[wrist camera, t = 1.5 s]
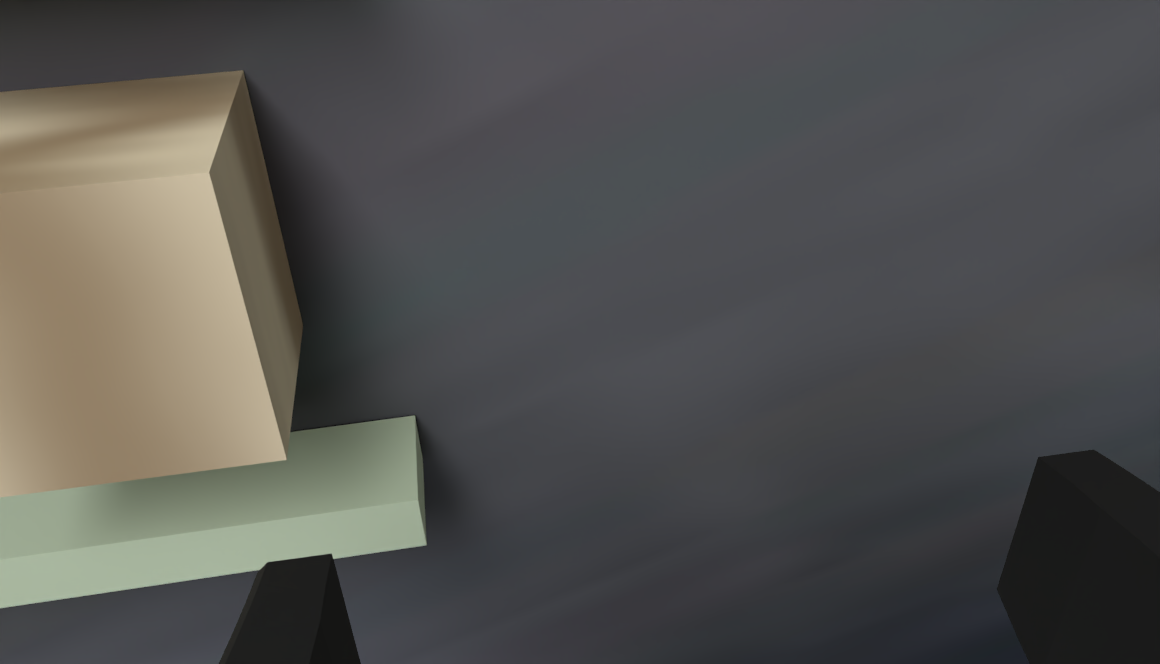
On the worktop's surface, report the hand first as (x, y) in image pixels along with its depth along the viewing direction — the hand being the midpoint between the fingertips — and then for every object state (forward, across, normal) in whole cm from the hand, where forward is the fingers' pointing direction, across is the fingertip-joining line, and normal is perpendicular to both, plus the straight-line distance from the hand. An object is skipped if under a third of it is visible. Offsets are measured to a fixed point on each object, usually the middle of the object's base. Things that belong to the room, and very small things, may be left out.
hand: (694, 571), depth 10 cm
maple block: (+10, +8, 0) cm, 12 cm away
